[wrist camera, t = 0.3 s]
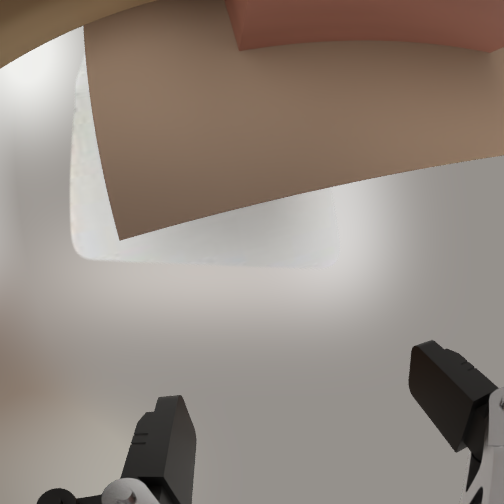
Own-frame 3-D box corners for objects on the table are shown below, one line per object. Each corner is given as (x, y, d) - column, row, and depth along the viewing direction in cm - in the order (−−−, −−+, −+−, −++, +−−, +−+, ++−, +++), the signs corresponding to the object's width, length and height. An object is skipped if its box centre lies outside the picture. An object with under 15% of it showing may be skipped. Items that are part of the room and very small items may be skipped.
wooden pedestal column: (183, 115, 34) (91, -120, 3) (271, 96, 35) (407, -122, 3) (205, 206, 36) (119, 240, 5) (294, 184, 37) (551, 148, 5)
